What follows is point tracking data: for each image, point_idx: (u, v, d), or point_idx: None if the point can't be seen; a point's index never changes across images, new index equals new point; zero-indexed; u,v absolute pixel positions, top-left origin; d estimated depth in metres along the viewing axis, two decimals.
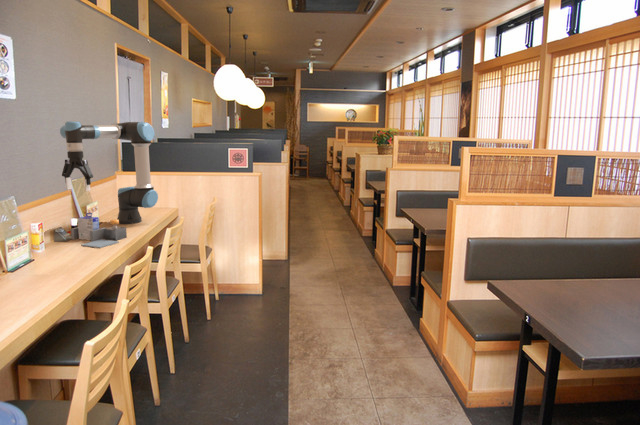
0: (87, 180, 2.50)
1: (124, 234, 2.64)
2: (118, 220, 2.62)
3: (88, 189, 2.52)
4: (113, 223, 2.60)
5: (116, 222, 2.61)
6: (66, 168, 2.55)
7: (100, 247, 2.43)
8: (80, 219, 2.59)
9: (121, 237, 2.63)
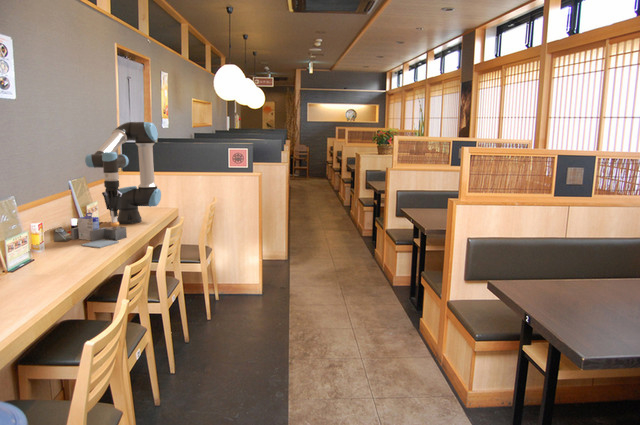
0: (114, 212, 2.60)
1: (124, 234, 2.64)
2: (118, 222, 2.62)
3: (115, 220, 2.62)
4: (113, 225, 2.60)
5: (116, 224, 2.61)
6: (107, 200, 2.61)
7: (100, 247, 2.43)
8: (80, 219, 2.59)
9: (121, 237, 2.63)
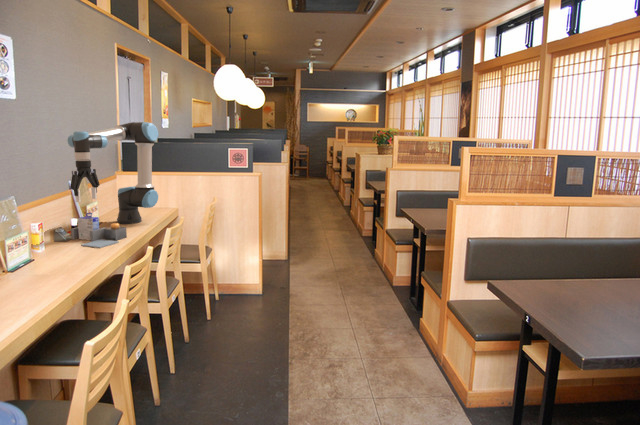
0: None
1: (124, 234, 2.64)
2: (118, 224, 2.62)
3: (77, 200, 2.54)
4: (113, 227, 2.61)
5: (116, 226, 2.61)
6: (93, 177, 2.63)
7: (100, 247, 2.43)
8: (80, 219, 2.59)
9: (121, 237, 2.63)
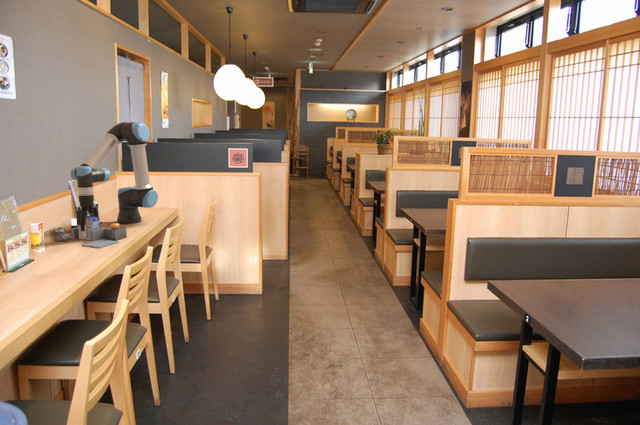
0: None
1: (124, 234, 2.64)
2: (118, 224, 2.62)
3: (84, 235, 2.59)
4: (113, 227, 2.61)
5: (116, 226, 2.61)
6: (94, 212, 2.65)
7: (100, 247, 2.43)
8: None
9: (121, 237, 2.63)
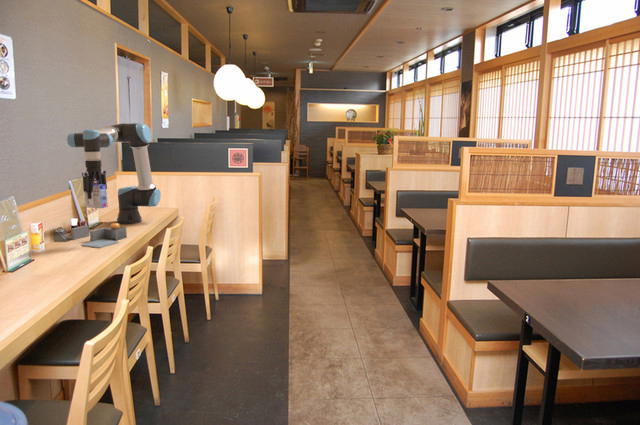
0: None
1: (124, 234, 2.64)
2: (118, 224, 2.62)
3: (91, 203, 2.44)
4: (113, 227, 2.61)
5: (116, 226, 2.61)
6: (102, 179, 2.50)
7: (100, 247, 2.43)
8: None
9: (121, 237, 2.63)
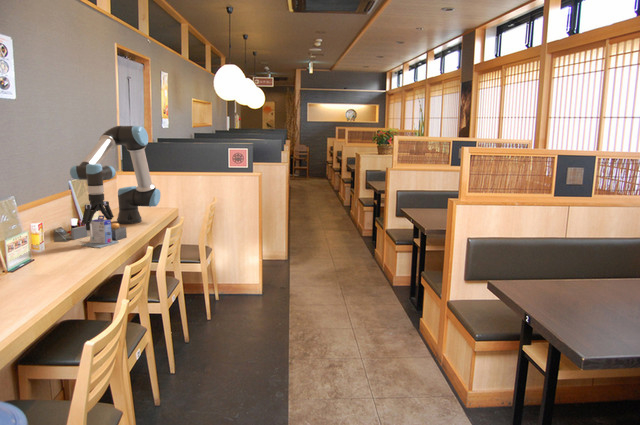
0: None
1: (124, 234, 2.64)
2: (118, 224, 2.62)
3: (89, 234, 2.44)
4: (113, 227, 2.61)
5: (116, 226, 2.61)
6: (106, 210, 2.54)
7: (100, 247, 2.43)
8: (92, 222, 2.49)
9: (121, 237, 2.63)
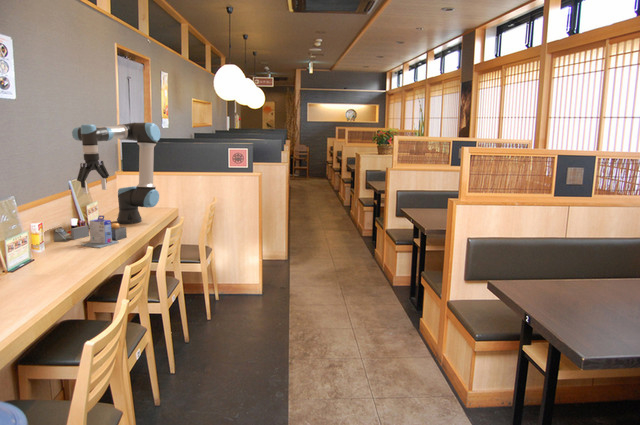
0: None
1: (124, 234, 2.64)
2: (118, 224, 2.62)
3: (84, 192, 2.54)
4: (113, 227, 2.61)
5: (116, 226, 2.61)
6: (102, 169, 2.65)
7: (100, 247, 2.43)
8: (92, 222, 2.49)
9: (121, 237, 2.63)
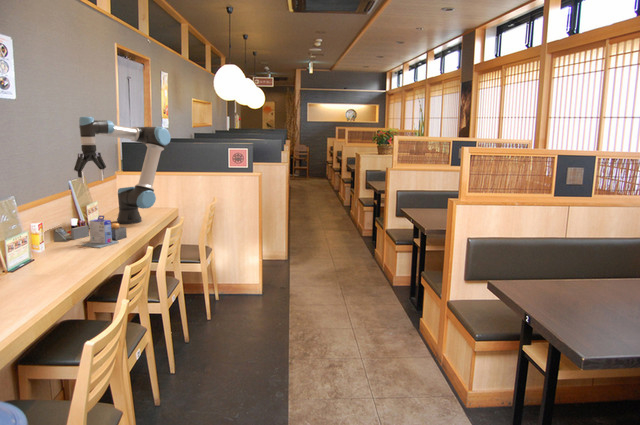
0: None
1: (124, 234, 2.64)
2: (118, 224, 2.62)
3: (81, 181, 2.62)
4: (113, 227, 2.61)
5: (116, 226, 2.61)
6: (99, 160, 2.73)
7: (100, 247, 2.43)
8: (92, 222, 2.49)
9: (121, 237, 2.63)
